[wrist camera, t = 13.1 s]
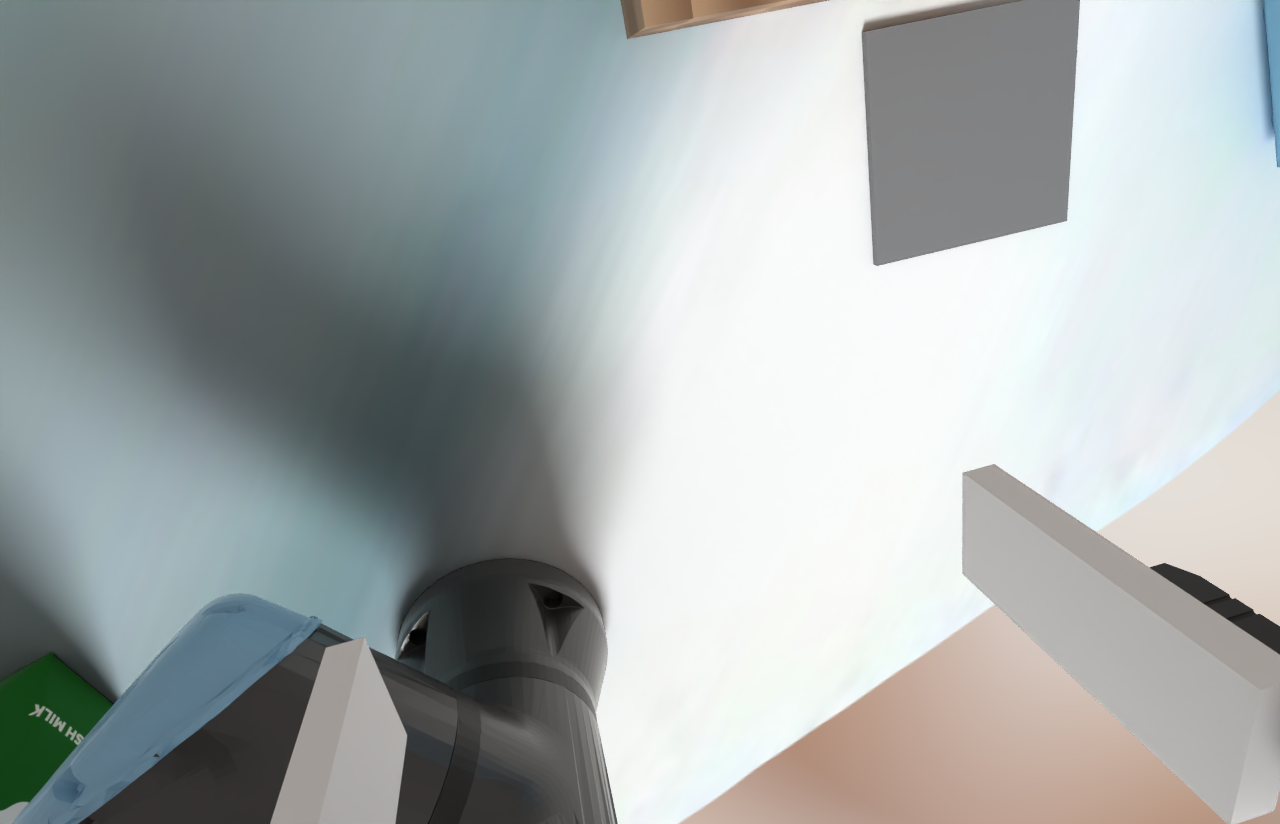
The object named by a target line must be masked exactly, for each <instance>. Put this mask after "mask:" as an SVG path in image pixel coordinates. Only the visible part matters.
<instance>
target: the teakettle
mask: <svg viewBox="0 0 1280 824" xmlns="http://www.w3.org/2000/svg"><path fill="white" fill-rule="evenodd" d="M1264 5H1265V6H1264V20H1265V23H1266V30H1267V43H1268V55H1269V69H1270V82H1271V94H1272V106H1273V114H1272V124H1273V127H1274V133H1275V146H1276V159H1277V167H1280V0H1264Z"/></svg>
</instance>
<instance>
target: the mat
mask: <svg viewBox="0 0 1280 824" xmlns="http://www.w3.org/2000/svg"><path fill="white" fill-rule="evenodd" d="M1079 6H1080V0H1022V1H1017V2H1012V3H1007V4H1002V5H996V6H991V7H986V8H981V9H976V10H971V11H966V12H961V13H956V14H951V15H946V16H941V17H936V18H931V19H926V20H921V21H916V22H911V23H906V24H901V25H896V26H891V27H886V28H881V29H876V30H871V31H866V32H862V42H863V62H864V82H865V102H866V121H867V141H868V161H869V181H870V200H871V220H872V240H873V260H874V265H877V266H879V265H883V264H887V263H891V262H895V261H900V260H904V259H908V258H912V257H917V256H921V255H925V254H929V253H933V252H938V251H942V250H946V249H950V248H955V247H959V246H963V245H967V244H971V243H976V242H980V241H984V240H988V239H992V238H997V237H1001V236H1005V235H1009V234H1014V233H1018V232H1022V231H1026V230H1030V229H1035V228H1039V227H1043V226H1047V225H1051V224H1056V223H1060V222H1064V221H1067V210H1068V193H1069V176H1070V159H1071V142H1072V125H1073V108H1074V91H1075V74H1076V57H1077V40H1078V23H1079Z"/></svg>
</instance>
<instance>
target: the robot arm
mask: <svg viewBox="0 0 1280 824" xmlns="http://www.w3.org/2000/svg"><path fill="white" fill-rule="evenodd" d="M962 574H963V575H964V576H965V577H966V578H968V579H969V580H970V581H971V582H972V583H973V584H974V585H975V586H976V587H977V588H978V589H979V590H980V591H981V592H982V593H983V594H985V595H986V596H987V597H988V598H989V599H990V600H991V601H992V602H993V603H994V604H995V605H996V606H997V607H998V608H999V609H1000V610H1001V611H1003V612H1004V613H1005V614H1006V615H1007V616H1008V617H1009V618H1010V619H1011V620H1012V621H1013V622H1014V623H1015V624H1016V625H1018V627H1020V628H1021V629H1022V630H1023V631H1024V632H1025V633H1026V634H1027V635H1028V636H1029V637H1030V638H1031V639H1032V640H1033V641H1034V642H1035V643H1036V644H1038V645H1039V646H1040V647H1041V648H1042V649H1043V650H1044V651H1045V652H1046V653H1047V654H1048V655H1049V656H1050V657H1051V658H1052V659H1053V660H1055V661H1056V662H1057V663H1058V664H1059V665H1060V666H1061V667H1062V668H1063V669H1064V670H1065V671H1066V672H1067V673H1068V674H1070V675H1071V677H1073V678H1074V679H1075V680H1076V681H1077V682H1078V683H1079V684H1080V685H1081V686H1082V687H1083V688H1084V689H1085V690H1086V691H1087V692H1088V693H1089V694H1091V695H1092V696H1093V697H1094V698H1095V699H1096V700H1097V701H1098V702H1099V703H1100V704H1101V705H1102V706H1103V707H1104V708H1105V709H1106V710H1107V711H1109V712H1110V713H1111V714H1112V715H1113V716H1114V717H1115V718H1116V719H1117V720H1118V721H1119V722H1120V723H1121V724H1122V725H1123V726H1124V727H1125V728H1127V729H1128V730H1129V731H1130V732H1131V733H1132V734H1133V735H1134V736H1135V737H1136V738H1137V739H1138V740H1139V741H1140V742H1142V744H1143V745H1145V746H1146V747H1147V748H1148V749H1149V750H1150V751H1151V752H1152V753H1153V754H1154V755H1155V756H1156V757H1157V758H1158V759H1159V760H1160V761H1162V762H1163V763H1164V764H1165V765H1166V766H1167V767H1168V768H1169V769H1170V770H1171V771H1172V772H1173V773H1174V774H1175V775H1176V776H1177V777H1178V778H1180V779H1181V780H1182V781H1183V782H1184V783H1185V784H1186V785H1187V786H1188V787H1189V788H1190V789H1191V790H1192V791H1193V792H1194V793H1195V794H1196V795H1198V796H1199V797H1200V798H1201V799H1202V800H1203V801H1204V802H1205V803H1206V804H1207V805H1208V806H1209V807H1210V808H1211V809H1212V810H1213V811H1215V812H1216V813H1217V814H1218V815H1219V816H1220V817H1221V818H1222V819H1223V820H1224V821H1225V822H1226V823H1227V824H1238V823H1241V822H1243V821H1246V820H1249V819H1252V818H1255V817H1258V816H1261V815H1264V814H1267V813H1269V812H1272V811H1274V810H1275V806H1276V802H1277V798H1278V794H1279V790H1280V626H1278V625H1277V624H1275V623H1273V622H1272V621H1270V620H1269V619H1267V618H1265V617H1264V616H1262V615H1261V614H1255V613H1254V611H1253V609H1251V608H1250V607H1248V606H1246V605H1245V604H1243V603H1242V602H1240V601H1239V600H1237V599H1231V598H1230V596H1229V594H1227V593H1226V592H1224V591H1222V590H1221V589H1219V588H1218V587H1216V586H1215V585H1213V584H1212V583H1210V582H1208V581H1207V580H1205V579H1204V578H1202V577H1201V576H1198V575H1196V574H1193V573H1190V572H1187V571H1184V570H1182V569H1179V568H1177V567H1174V566H1171V565H1168V564H1166V563H1163V564H1160V565H1157V566H1153V567H1150V568H1149V567H1148V566H1146V565H1144V564H1143V563H1142V562H1140V561H1138V560H1137V559H1136V558H1134V557H1133V556H1131V555H1130V554H1128V553H1127V552H1125V551H1124V550H1122V549H1121V548H1119V547H1118V546H1116V545H1115V544H1113V543H1111V542H1110V541H1109V540H1107V539H1106V538H1104V537H1103V536H1101V535H1100V534H1098V533H1097V532H1095V531H1094V530H1092V529H1091V528H1089V527H1088V526H1086V525H1085V524H1083V523H1082V522H1080V521H1079V520H1077V519H1076V518H1074V517H1073V516H1071V515H1070V514H1068V513H1067V512H1065V511H1064V510H1062V509H1061V508H1059V507H1058V506H1056V505H1055V504H1053V503H1052V502H1050V501H1049V500H1047V499H1046V498H1044V497H1043V496H1041V495H1040V494H1038V493H1037V492H1035V491H1034V490H1032V489H1031V488H1029V487H1028V486H1026V485H1025V484H1023V483H1022V482H1020V481H1019V480H1017V479H1016V478H1014V477H1013V476H1011V475H1010V474H1008V473H1007V472H1005V471H1004V470H1002V469H1001V468H999V467H998V466H996V465H995V464H993V465H989V466H986V467H982V468H978V469H975V470H971V471H967V472H964V473H963V536H962ZM322 621H323V620H320V619H319V618H317V617H315V616H312V617H306V616H303V615H301V614H298V613H296V612H293V611H291V610H289V609H286V608H284V607H281V606H279V605H276V604H274V603H271V602H269V601H266V600H264V599H262V598H259V597H257V596H254V595H249V594H231V595H227V596H223V597H220V598H218V599H216V600H214V601H212V602H210V603H209V604H207V605H206V606H204V607H203V608H202V609H201V610H200V611H199V612H198V613H197V614H196V615H195V616H194V617H193V618H192V619H191V620H190V621H189V622H188V623H187V624H186V625H185V626H184V627H183V628H182V629H181V630H180V631H179V632H178V633H177V635H176V636H175V637H174V638H173V639H172V640H171V641H170V642H169V643H168V644H167V645H166V647H165V648H164V649H163V650H162V651H161V652H160V653H159V654H158V655H157V656H156V658H155V659H154V660H153V661H152V662H151V663H150V664H149V665H148V667H147V668H146V669H145V670H144V671H143V672H142V673H141V674H140V676H139V677H138V678H137V679H136V680H135V681H134V682H133V683H132V685H131V686H130V687H129V688H128V689H127V690H126V691H125V692H124V694H123V695H122V696H121V697H120V698H119V699H118V700H117V701H116V702H115V704H114V705H113V706H112V707H111V708H110V709H109V710H108V712H107V713H106V714H105V715H104V716H103V717H102V718H101V719H100V721H99V722H98V723H97V724H96V725H95V726H94V728H93V729H92V730H91V731H90V732H89V733H88V734H87V736H86V737H85V738H84V739H83V740H82V741H81V742H80V744H79V745H78V746H77V747H76V748H75V749H74V750H73V752H72V753H71V754H70V755H69V756H68V757H67V759H66V760H65V761H64V762H63V763H62V765H61V766H60V767H59V768H58V769H57V771H56V772H55V773H54V774H53V775H52V777H51V778H50V779H49V780H48V782H47V783H46V784H45V785H44V786H43V787H42V789H41V790H40V791H39V792H38V793H37V794H36V796H35V797H34V798H33V799H32V800H31V801H30V802H29V803H28V804H27V806H26V807H25V808H24V809H23V810H22V812H21V813H20V814H19V815H18V817H17V818H16V819H15V820H14V822H13V823H12V824H618V823H617V818H616V813H615V808H614V803H613V798H612V794H611V789H610V784H609V779H608V774H607V769H606V764H605V759H604V754H603V749H602V744H601V739H600V734H599V729H598V725H597V719H596V709H597V705H598V700H599V696H600V692H601V688H602V683H603V679H604V675H605V670H606V665H607V639H606V634H605V629H604V625H603V620H602V617H601V613H600V611H599V608H598V606H597V604H596V602H595V601H594V599H593V597H592V596H591V595H590V593H589V592H588V591H587V590H586V589H585V588H584V587H583V586H582V585H581V584H580V583H579V582H578V581H577V580H575V579H574V578H573V577H571V576H570V575H568V574H566V573H565V572H563V571H561V570H559V569H557V568H554V567H552V566H549V565H546V564H543V563H539V562H534V561H529V560H520V559H499V560H491V561H485V562H480V563H476V564H473V565H470V566H467V567H464V568H461V569H459V570H457V571H454V572H452V573H450V574H449V575H447V576H445V577H443V578H442V579H440V580H439V581H437V582H436V583H434V584H433V585H432V586H431V587H429V588H428V589H427V590H426V591H425V592H424V593H423V594H422V595H421V596H420V597H419V598H418V599H417V600H416V602H415V603H414V604H413V605H412V607H411V608H410V610H409V612H408V613H407V615H406V617H405V619H404V621H403V624H402V627H401V630H400V634H399V638H398V644H397V650H396V656H395V659H393V658H391V657H389V656H387V655H384V654H382V653H380V652H378V651H376V650H374V649H372V648H370V647H368V644H367V642H366V640H365V638H364V637H363V638H360V639H356V640H353V639H351V638H349V637H347V636H345V635H343V634H341V633H339V632H337V631H335V630H333V629H331V628H329V627H327V626H325V625H323V624H321V622H322Z"/></svg>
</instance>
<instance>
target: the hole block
mask: <svg viewBox="0 0 1280 824" xmlns="http://www.w3.org/2000/svg"><path fill="white" fill-rule="evenodd" d="M822 1H827V0H621V5H622V10H623V16H624V22H625V28H626V34H627V39H630V38H635V37H640V36H645V35H650V34H656V33H661V32H666V31H671V30H676V29H682V28H687V27H692V26H697V25H702V24H708V23H713V22H718V21H723V20H728V19H734V18H739V17H744V16H749V15H754V14H760V13H765V12H770V11H775V10H780V9H786V8H791V7H796V6H801V5H806V4H812V3H817V2H822Z"/></svg>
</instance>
